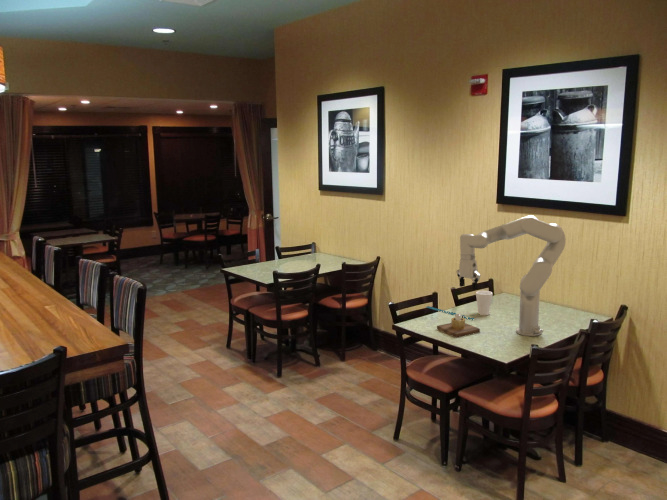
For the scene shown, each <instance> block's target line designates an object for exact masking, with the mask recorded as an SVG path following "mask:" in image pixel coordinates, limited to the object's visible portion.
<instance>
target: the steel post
mask: <svg viewBox="0 0 667 500" xmlns="http://www.w3.org/2000/svg"><path fill="white" fill-rule="evenodd" d="M454 315H455V317H454V318H455V320H457V321H461V315H462V314H460V313H456V314H454Z"/></svg>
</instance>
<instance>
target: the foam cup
mask: <svg viewBox="0 0 667 500" xmlns="http://www.w3.org/2000/svg"><path fill="white" fill-rule="evenodd" d="M475 296H476V305H477V306H476V307H477V312H478V313H479V314H480V316H488V315H490V313H491V312H490V311H491V308H492V307H491V306H492V301H493V296H494V295H493V292H492V291H489V290H477V291H476V292H475ZM478 313H477V314H478ZM479 314H478V315H479Z"/></svg>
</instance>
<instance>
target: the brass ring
mask: <svg viewBox="0 0 667 500" xmlns="http://www.w3.org/2000/svg"><path fill="white" fill-rule="evenodd" d="M450 323H451V327H452V328H453V329H464V328H465V323H466V318H461V321H457V320H455V317H452V318H451V321H450Z"/></svg>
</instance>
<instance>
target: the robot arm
mask: <svg viewBox="0 0 667 500" xmlns="http://www.w3.org/2000/svg"><path fill="white" fill-rule="evenodd" d="M524 235H529V236H532V237H534V238H538V239H540V240H542V241H544V242H546V244H545V246H544V248H542V250H541V252H540V254H539V255H538V256H537V257H536V259H535V260H534V261H533V262H532V266H531V268H530V269H529V270H528V272H527V273H526V274H525V275H523V276H522V277H521V278H520V282H519V289H520V291H519V292H520V293H519V295H520V296H519V320H518V321H519V322H518V323H519V324H518V327H517V328H516V329H515V332H516V333H517V334H519V335H521V336H526V337H538V336H540V335H542V334H543V332H544V329H542V328H541V325H540V324H539V321H540V320H539V318H540V317H539V315H540V291H541V290H542V288H543V287H544V285H545V284H546V282H547V281H548V279H549V278H550V276H551V275H552V273H553V268H554V265H555V264H556V262H557V261H558V260H559V258H560V256H561V255H562V253H563V251H564V250H565V247H566V240H567V239H566V235H565V232H564V229H563V228H562V227H561V226H560V224H558V223H555V222H551V223H547V222H545V221H543V220H539V219H538V217H537V216H535V215H532V214H530V215H525V216H524V217H520V218H518V219H516V220H515V219H514V220H512V221H509V222H507V223H504V224H501V225H498V226H495V227H492V228H489V229H487V230H483V231H481V232H479V233H478V234H477V235H476V234H475V235H474V234H473V233H462V234H461V235H460V236H459V243H460V245H459V246H460V247H459V248H460V251H459V252H460V253H459V254H460V258H459V266H458V267H459V268H458V269H457V270H455V272H456V274H457V277H458V280H459V287H461V288H462V287H465V285H466V282H465V281H466V280H465V279H471V281H472V283H471V289H472V290H473V291H474V290H477V289H478V282H479V281H480V278H481V274H480V273H479V272H478V270H479V269H478V263H477V259H476V253H475V251H476V249H481V250H482V249H485V248H487V247H488V245H490V244H493V243H496V242H498V241H503V240H507V241H508V240H512V239H515V238H518V237H521V236H524Z"/></svg>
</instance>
